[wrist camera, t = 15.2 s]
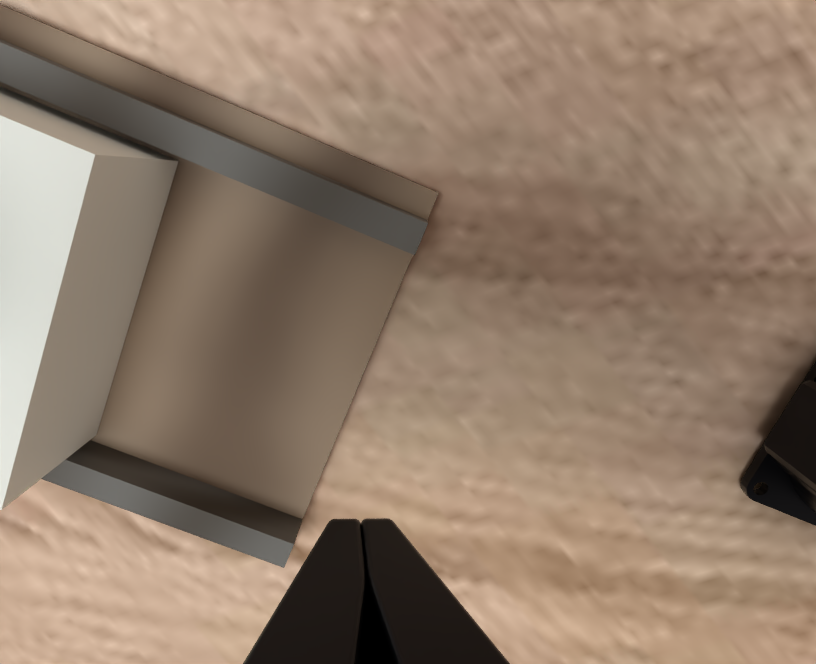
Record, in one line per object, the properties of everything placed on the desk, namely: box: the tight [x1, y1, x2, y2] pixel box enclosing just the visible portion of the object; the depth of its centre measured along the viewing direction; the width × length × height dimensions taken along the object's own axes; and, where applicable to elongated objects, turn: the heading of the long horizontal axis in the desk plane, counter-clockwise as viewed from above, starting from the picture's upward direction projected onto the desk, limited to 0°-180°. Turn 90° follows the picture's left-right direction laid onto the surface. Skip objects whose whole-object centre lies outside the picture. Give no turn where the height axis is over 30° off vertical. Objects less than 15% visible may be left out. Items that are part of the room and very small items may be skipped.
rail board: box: [0, 5, 439, 568], centre depth 17 cm, size 20×14×7 cm
